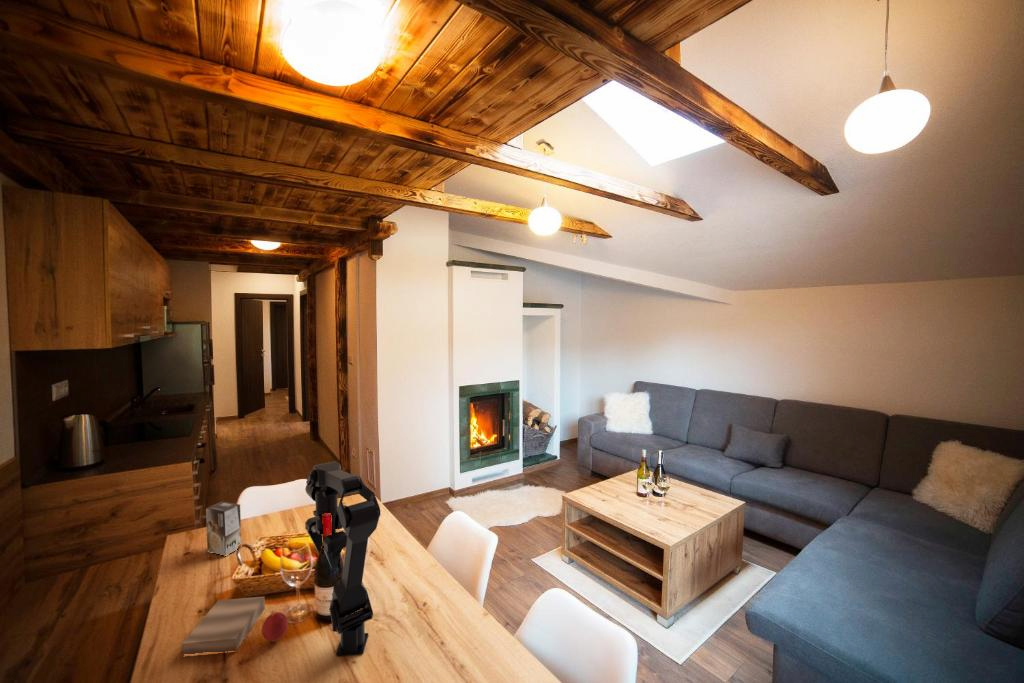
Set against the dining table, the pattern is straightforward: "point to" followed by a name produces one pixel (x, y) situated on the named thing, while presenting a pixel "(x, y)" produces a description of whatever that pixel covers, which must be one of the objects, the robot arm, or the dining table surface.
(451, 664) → the dining table surface
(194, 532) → the dining table surface
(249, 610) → the grey flat block
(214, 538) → the coffee box
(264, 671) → the dining table surface
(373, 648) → the dining table surface
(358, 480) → the robot arm
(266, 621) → the onion
